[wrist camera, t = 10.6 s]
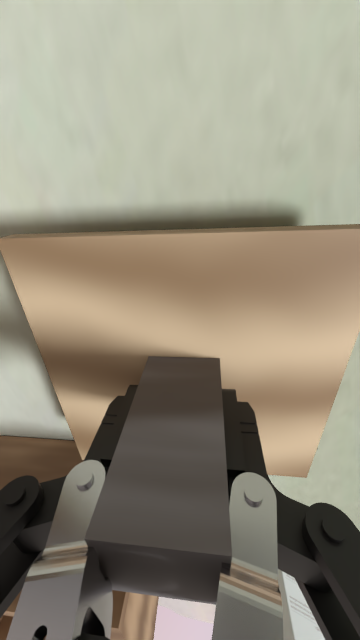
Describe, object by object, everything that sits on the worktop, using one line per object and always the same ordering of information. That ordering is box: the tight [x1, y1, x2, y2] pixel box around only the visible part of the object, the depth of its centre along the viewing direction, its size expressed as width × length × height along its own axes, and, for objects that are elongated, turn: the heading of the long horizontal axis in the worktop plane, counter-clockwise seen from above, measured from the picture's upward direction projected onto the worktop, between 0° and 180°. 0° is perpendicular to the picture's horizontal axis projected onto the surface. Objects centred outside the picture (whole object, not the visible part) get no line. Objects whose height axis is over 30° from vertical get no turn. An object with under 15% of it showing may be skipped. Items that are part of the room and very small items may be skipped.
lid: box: [0, 224, 360, 604], centre depth 10 cm, size 15×15×8 cm
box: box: [0, 436, 159, 640], centre depth 20 cm, size 14×14×10 cm
